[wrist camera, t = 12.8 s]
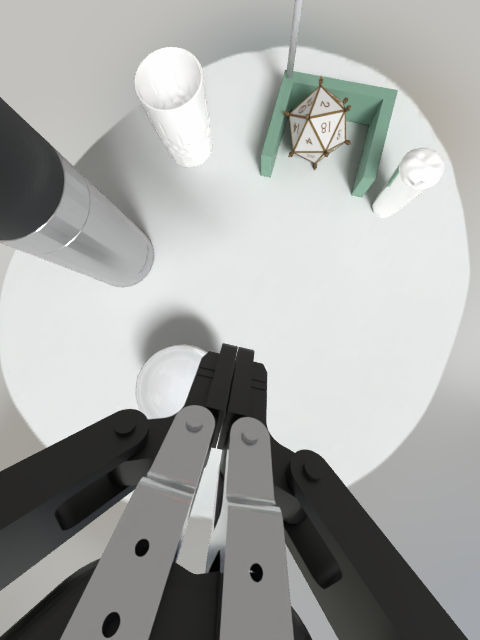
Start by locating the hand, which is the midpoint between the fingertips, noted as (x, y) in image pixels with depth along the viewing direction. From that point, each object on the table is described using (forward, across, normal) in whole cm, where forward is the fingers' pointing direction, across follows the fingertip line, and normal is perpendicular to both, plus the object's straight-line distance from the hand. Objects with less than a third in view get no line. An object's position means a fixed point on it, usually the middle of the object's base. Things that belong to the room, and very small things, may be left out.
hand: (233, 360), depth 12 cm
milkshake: (+31, -16, -6) cm, 36 cm away
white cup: (+36, +13, -8) cm, 39 cm away
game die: (+36, -5, -11) cm, 38 cm away
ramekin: (+16, +4, +20) cm, 25 cm away
